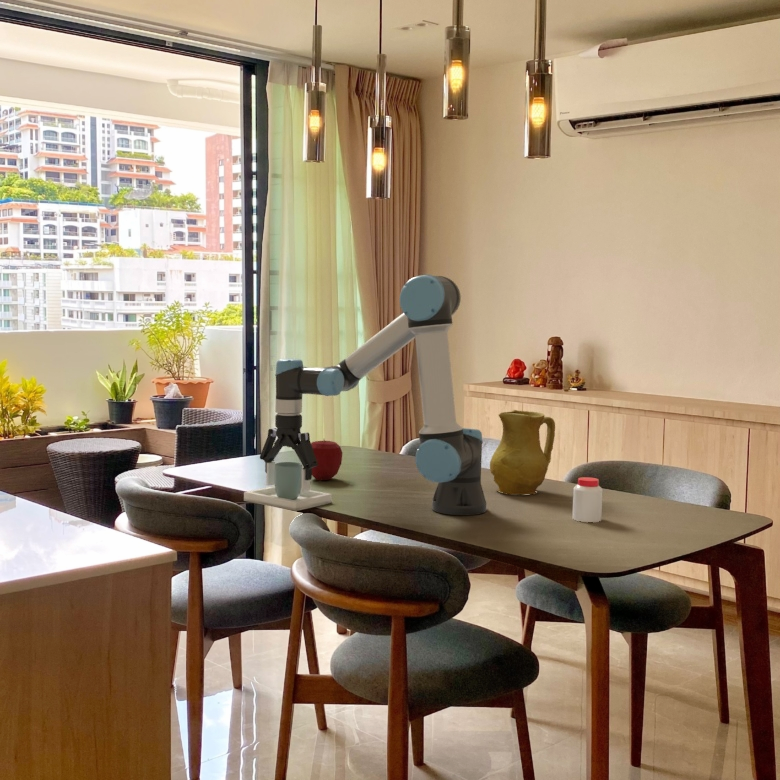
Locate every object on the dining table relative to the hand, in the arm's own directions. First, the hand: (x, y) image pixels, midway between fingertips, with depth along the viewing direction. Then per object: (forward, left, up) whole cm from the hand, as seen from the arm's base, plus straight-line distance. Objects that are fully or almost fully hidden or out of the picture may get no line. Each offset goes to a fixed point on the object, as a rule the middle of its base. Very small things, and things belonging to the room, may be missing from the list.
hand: (287, 488), depth 278 cm
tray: (0, 0, -4) cm, 4 cm away
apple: (+15, -33, -4) cm, 36 cm away
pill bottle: (-74, -39, -4) cm, 84 cm away
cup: (0, 0, -3) cm, 3 cm away
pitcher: (-42, -59, -4) cm, 72 cm away
